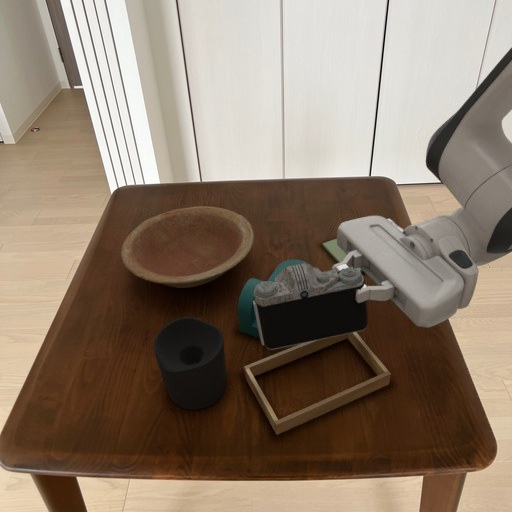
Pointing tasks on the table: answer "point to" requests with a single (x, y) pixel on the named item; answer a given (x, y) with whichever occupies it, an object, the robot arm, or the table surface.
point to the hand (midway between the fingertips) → (344, 284)
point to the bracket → (247, 297)
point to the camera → (308, 306)
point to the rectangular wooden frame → (326, 404)
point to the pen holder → (191, 362)
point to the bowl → (187, 246)
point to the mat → (336, 251)
